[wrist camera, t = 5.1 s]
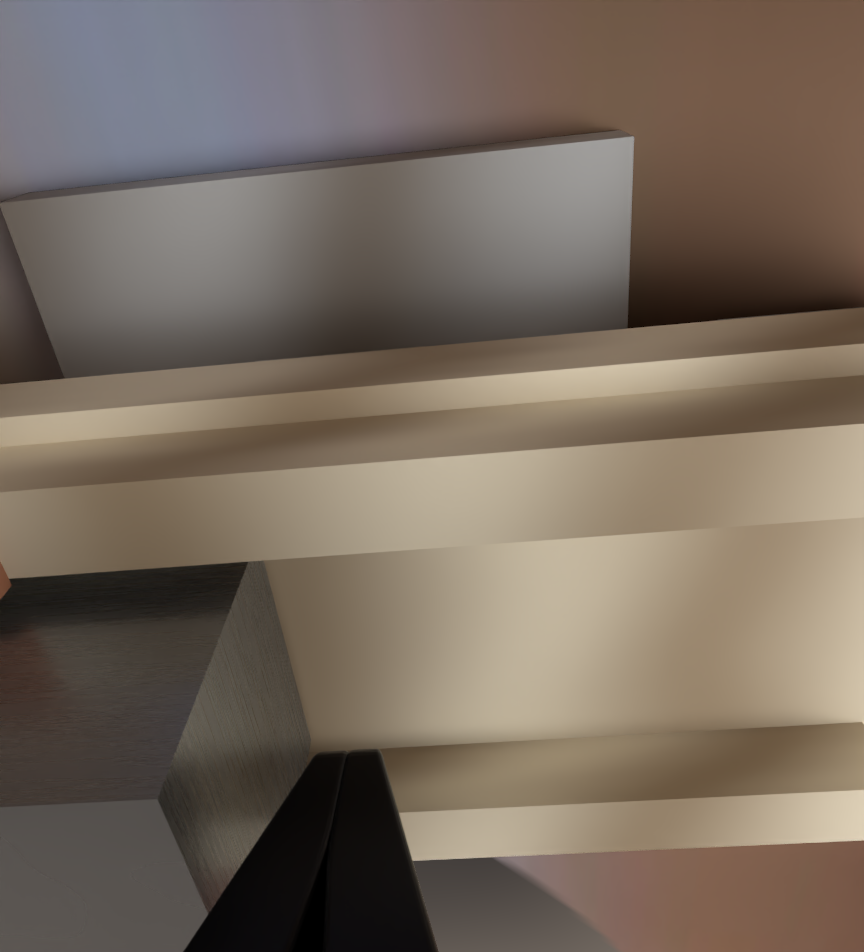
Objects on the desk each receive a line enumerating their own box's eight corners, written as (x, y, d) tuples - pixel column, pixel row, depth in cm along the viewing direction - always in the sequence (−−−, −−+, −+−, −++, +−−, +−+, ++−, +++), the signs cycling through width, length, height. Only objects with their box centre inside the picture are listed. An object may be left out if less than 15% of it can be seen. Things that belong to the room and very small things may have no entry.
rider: (258, 537, 10) (156, 800, 6) (311, 740, 12) (255, 1022, 8) (-95, 563, 10) (-371, 826, 7) (13, 757, 12) (-157, 1037, 9)
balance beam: (1005, 89, 12) (1532, 127, 6) (860, 654, 18) (1055, 938, 12) (-299, 227, 13) (-867, 362, 7) (-22, 707, 19) (-219, 985, 13)
